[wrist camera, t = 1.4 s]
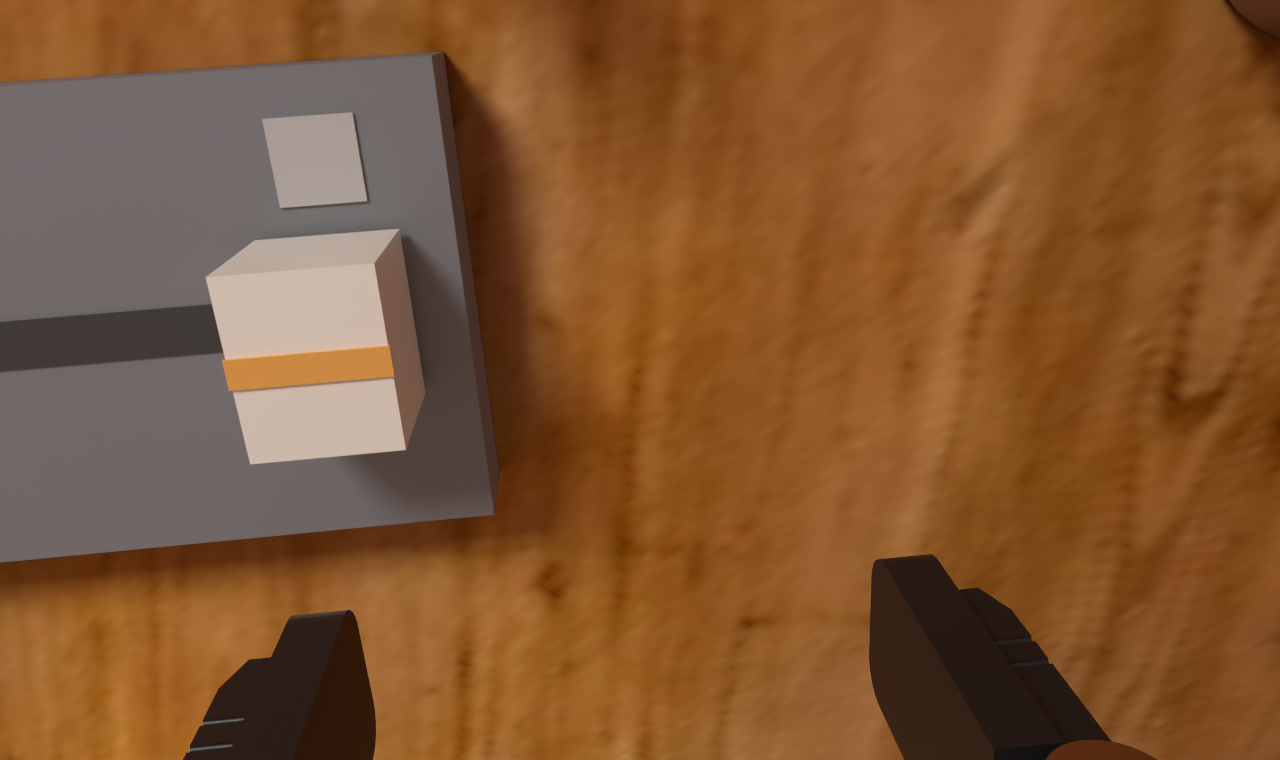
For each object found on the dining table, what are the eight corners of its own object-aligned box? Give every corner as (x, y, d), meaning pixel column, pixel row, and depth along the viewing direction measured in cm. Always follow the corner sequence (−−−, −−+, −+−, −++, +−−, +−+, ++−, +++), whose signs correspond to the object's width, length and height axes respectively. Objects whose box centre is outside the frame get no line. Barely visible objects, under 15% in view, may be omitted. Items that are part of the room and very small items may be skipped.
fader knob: (401, 228, 27) (375, 264, 23) (427, 392, 28) (407, 451, 25) (252, 240, 26) (201, 278, 23) (288, 405, 28) (246, 466, 24)
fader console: (444, 51, 28) (431, 55, 25) (499, 472, 33) (493, 516, 30) (-298, 103, 27) (-400, 114, 24) (-123, 531, 32) (-189, 582, 29)
